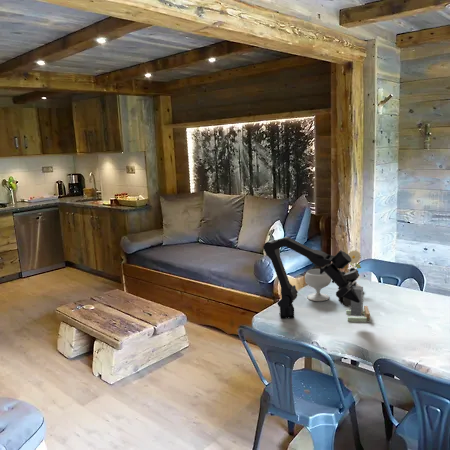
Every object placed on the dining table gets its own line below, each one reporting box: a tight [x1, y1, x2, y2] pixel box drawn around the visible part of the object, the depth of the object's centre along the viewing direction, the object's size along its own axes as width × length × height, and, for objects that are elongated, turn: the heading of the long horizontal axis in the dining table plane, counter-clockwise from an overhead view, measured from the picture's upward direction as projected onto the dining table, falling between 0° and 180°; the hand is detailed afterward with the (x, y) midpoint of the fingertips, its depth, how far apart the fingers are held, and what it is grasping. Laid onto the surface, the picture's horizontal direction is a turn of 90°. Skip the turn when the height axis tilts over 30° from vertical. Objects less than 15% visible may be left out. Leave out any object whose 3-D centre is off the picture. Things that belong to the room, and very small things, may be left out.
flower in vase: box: [347, 249, 362, 286], centre depth 241 cm, size 13×11×25 cm
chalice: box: [304, 268, 332, 302], centre depth 237 cm, size 14×14×15 cm
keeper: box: [345, 305, 371, 323], centre depth 209 cm, size 10×10×4 cm
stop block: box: [350, 285, 364, 317], centre depth 197 cm, size 4×4×12 cm
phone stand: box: [338, 297, 351, 308], centre depth 227 cm, size 9×6×12 cm, turn 7°
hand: (360, 300), depth 197 cm, fingers closed on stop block, 4 cm apart
